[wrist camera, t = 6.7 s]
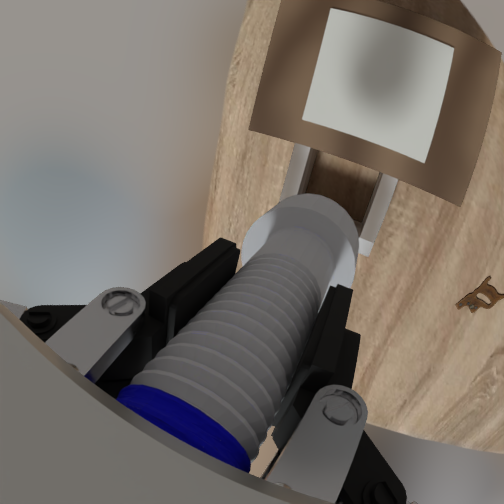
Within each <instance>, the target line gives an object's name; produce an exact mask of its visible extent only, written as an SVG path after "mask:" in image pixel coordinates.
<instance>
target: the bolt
mask: <svg viewBox="0 0 504 504" xmlns="http://www.w3.org/2000/svg"><path fill="white" fill-rule="evenodd" d="M358 251H359V237H358V232H357V229H356V226H355V224H354V221H353V220H352V218H351V217H350V215H349V214H348V212H347V211H346V210H345V209H344V208H342V207H341V206H340V205H339V204H338V203H336V202H335V201H333V200H331V199H330V198H327V197H324V196H322V195H317V194H309V193H307V194H298V195H294V196H291V197H288V198H286V199H284V200H282V201H281V202H279V203H278V204H277V205H276V206H274V207H273V208H272V209H271V210H269V211H268V212H267V213H265V214H264V215H263V216H261V217H260V218H259V219H258V220H257V221H255V222H254V223H253V225H252V226H251V227H250V229H249V230H248V232H247V234H246V236H245V239H244V241H243V246H242V265H243V267H242V268H241V269H240V270H239V271H238V272H237V273H236V274H235V275H234V276H233V277H232V278H231V279H230V280H229V281H228V282H227V283H226V285H224V286H223V287H222V288H221V289H220V291H219V292H218V293H216V294H215V295H214V296H213V298H212V299H211V300H210V301H208V302H207V303H206V305H205V306H204V307H203V308H202V309H201V310H199V311H198V313H197V314H196V316H195V317H193V318H192V319H191V320H190V321H189V322H188V323H187V325H186V326H185V327H183V328H182V329H181V330H180V331H179V332H178V334H177V335H176V336H175V337H174V338H172V339H171V340H170V341H169V342H168V344H167V346H166V347H165V348H163V349H161V350H160V351H159V352H158V353H157V355H156V357H155V358H154V359H153V360H151V361H150V362H148V363H147V364H146V366H145V367H144V369H143V371H142V372H140V373H138V374H137V375H135V376H134V377H133V379H132V381H131V383H130V385H128V386H126V387H124V388H123V389H122V390H121V391H120V392H119V395H118V397H117V399H115V400H117V401H118V402H120V403H121V404H123V405H124V406H126V407H127V408H129V409H130V410H132V411H133V412H135V413H136V414H138V415H139V416H141V417H142V418H144V419H146V420H147V421H149V422H150V423H152V424H154V425H155V426H157V427H159V428H160V429H162V430H164V431H165V432H167V433H169V434H170V435H172V436H174V437H176V438H178V439H179V440H181V441H183V442H185V443H187V444H188V445H190V446H192V447H194V448H196V449H198V450H200V451H202V452H204V453H206V454H208V455H210V456H212V457H214V458H216V459H218V460H220V461H222V462H224V463H226V464H229V465H231V466H233V467H235V468H237V469H240V470H242V471H244V472H247V473H249V472H250V467H251V463H252V462H253V461H254V460H255V459H256V457H257V455H258V453H259V447H260V446H261V444H263V442H264V441H265V439H266V437H267V431H268V430H269V429H270V427H271V426H272V424H273V422H274V417H275V415H276V414H277V412H278V411H279V409H280V405H281V402H282V400H283V398H284V396H285V394H286V391H287V388H288V387H289V385H290V383H291V380H292V377H293V375H294V373H295V371H296V368H297V365H298V363H299V361H300V359H301V355H302V353H303V351H304V349H305V345H306V343H307V341H308V339H309V335H310V333H311V331H312V327H313V325H314V323H315V319H316V317H317V315H318V313H319V310H320V308H321V306H322V303H323V301H324V299H325V296H326V294H327V292H328V289H329V287H330V285H331V286H333V287H336V286H337V284H340V285H343V286H345V287H348V288H350V287H351V285H352V283H353V280H354V274H355V268H356V262H357V257H358Z"/></svg>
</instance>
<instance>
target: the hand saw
mask: <svg viewBox="0 0 504 504" xmlns="http://www.w3.org/2000/svg"><path fill="white" fill-rule="evenodd" d="M490 279H491V277H490V276H489V277H487V278H486V279H485V280H484V281H483V283H482V284H481V285H480V286H479V287H478V288H477V289H475V290H474V292H473V293H470V294H468V295H466V296H465V297H464V298H463V299H462V300H460V301H459V302H458V303H457V304H455V305H456V307H457V309H458V310H460V309H461V308H462V307H464V306H468V307H469V309H470V311H471V313H474V312H475V311H476V310H477V309H478V308H480V307H483V308H486V309H490V308H492V307H493V306H494V305H495V304H496V303H497V301H499V300H501V299H503V298H504V294H499V293H498V292H497V291H496V289H495V288H494V287H493V286H491V285H488V284H487V283H488V281H489V280H490ZM478 293H482V294H484V295H485V296H487V297H488V298H489V299H490V301H491V303H490V304H486V303H485V302H484V301H482V300H480V299H478V298H477V297H476V295H477V294H478Z"/></svg>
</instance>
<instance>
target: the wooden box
mask: <svg viewBox="0 0 504 504" xmlns="http://www.w3.org/2000/svg"><path fill="white" fill-rule="evenodd" d="M331 8H333V9H337V10H342V11H346V12H351V13H355V14H359V15H363V16H366V17H370V18H373V19H377V20H380V21H384V22H387V23H390V24H393V25H396V26H399V27H402V28H405V29H408V30H411V31H414V32H416V33H419V34H421V35H424V36H427V37H429V38H432V39H434V40H436V41H439V42H441V43H443V44H446V45H448V46H450V47H452V48H454V52H453V58H452V63H451V68H450V72H449V77H448V81H447V86H446V90H445V94H444V98H443V102H442V106H441V110H440V114H439V117H438V121H437V124H436V128H435V131H434V135H433V138H432V141H431V145H430V148H429V151H428V154H427V157H426V160H425V163H422V162H420V161H418V160H415V159H413V158H411V157H408V156H406V155H404V154H401V153H399V152H396V151H394V150H391V149H388V148H386V147H383V146H381V145H378V144H375V143H373V142H370V141H367V140H364V139H362V138H359V137H356V136H353V135H350V134H347V133H344V132H341V131H338V130H335V129H332V128H329V127H325V126H322V125H319V124H316V123H312V122H309V121H305V120H302V117H303V114H304V110H305V106H306V102H307V99H308V95H309V91H310V87H311V83H312V79H313V76H314V72H315V68H316V64H317V60H318V56H319V52H320V48H321V44H322V41H323V37H324V33H325V29H326V25H327V21H328V17H329V13H330V9H331ZM501 54H502V53H501V52H500V51H498V50H496V49H495V48H493V47H491V46H489V45H487V44H486V43H484V42H482V41H480V40H478V39H476V38H474V37H472V36H470V35H468V34H466V33H464V32H462V31H460V30H457V29H455V28H453V27H451V26H448V25H446V24H444V23H441V22H439V21H437V20H434V19H432V18H429V17H427V16H424V15H421V14H419V13H416V12H413V11H410V10H407V9H404V8H401V7H398V6H395V5H392V4H389V3H385V2H382V1H378V0H281V3H280V7H279V11H278V15H277V18H276V22H275V26H274V29H273V33H272V37H271V41H270V45H269V49H268V52H267V56H266V60H265V64H264V68H263V72H262V76H261V80H260V84H259V88H258V92H257V96H256V101H255V105H254V109H253V113H252V117H251V121H250V126H249V130H251V131H255V132H259V133H262V134H266V135H270V136H273V137H277V138H280V139H284V140H287V141H291V142H294V143H295V145H294V149H293V153H292V156H291V160H290V164H289V167H288V171H287V175H286V178H285V182H284V186H283V189H282V193H281V197H280V200H279V202H281V201H282V200H284V199H286V198H288V197H291V196H294V195H298V194H305V193H306V189H307V186H308V183H309V179H310V176H311V172H312V169H313V165H314V162H315V158H316V155H317V151H318V150H320V151H323V152H326V153H329V154H332V155H335V156H338V157H340V158H343V159H346V160H349V161H352V162H355V163H357V164H360V165H363V166H365V167H368V168H371V169H373V170H376V171H379V172H380V173H379V176H378V179H377V182H376V185H375V188H374V191H373V193H372V196H371V199H370V202H369V205H368V207H367V210H366V213H365V216H364V218H363V221H362V223H361V222H358V221H356V220H353V219H352V220H353V221H354V224H355V226H356V229H357V232H358V237H359V251H358V253H360V254H362V255H365V256H367V257H368V256H369V254H370V252H371V249H372V247H373V244H374V242H375V240H376V237H377V235H378V232H379V230H380V227H381V225H382V222H383V220H384V217H385V214H386V212H387V209H388V207H389V204H390V201H391V198H392V196H393V193H394V190H395V187H396V185H397V182H398V179H399V180H401V181H403V182H406V183H408V184H411V185H413V186H415V187H418V188H420V189H422V190H424V191H427V192H429V193H431V194H433V195H436V196H438V197H440V198H442V199H444V200H446V201H448V202H451V203H453V204H455V205H457V206H459V207H461V204H462V202H463V199H464V196H465V194H466V191H467V188H468V186H469V183H470V180H471V177H472V174H473V171H474V168H475V165H476V162H477V159H478V156H479V153H480V150H481V146H482V143H483V139H484V136H485V132H486V128H487V125H488V121H489V117H490V113H491V108H492V104H493V99H494V95H495V90H496V85H497V79H498V74H499V68H500V61H501Z"/></svg>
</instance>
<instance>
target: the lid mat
mask: <svg viewBox="0 0 504 504" xmlns="http://www.w3.org/2000/svg"><path fill="white" fill-rule="evenodd" d="M453 52H454V48H452V47H450V46H448V45H446V44H443V43H441V42H439V41H436V40H434V39H432V38H429V37H427V36H424V35H421V34H419V33H416V32H414V31H411V30H408V29H405V28H402V27H399V26H396V25H393V24H390V23H387V22H384V21H380V20H377V19H373V18H370V17H366V16H363V15H359V14H355V13H351V12H346V11H342V10H337V9H333V8H331V9H330V13H329V17H328V21H327V25H326V29H325V33H324V37H323V41H322V44H321V48H320V52H319V56H318V60H317V64H316V68H315V72H314V76H313V79H312V83H311V87H310V91H309V95H308V99H307V102H306V106H305V110H304V114H303V117H302V120H305V121H309V122H312V123H316V124H319V125H322V126H325V127H329V128H332V129H335V130H338V131H341V132H344V133H347V134H350V135H353V136H356V137H359V138H362V139H364V140H367V141H370V142H373V143H375V144H378V145H381V146H383V147H386V148H388V149H391V150H394V151H396V152H399V153H401V154H404V155H406V156H408V157H411V158H413V159H415V160H418V161H420V162H422V163H425V160H426V157H427V154H428V151H429V148H430V145H431V141H432V138H433V135H434V131H435V128H436V124H437V121H438V117H439V114H440V110H441V106H442V102H443V98H444V94H445V90H446V86H447V81H448V77H449V72H450V68H451V63H452V58H453Z"/></svg>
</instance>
